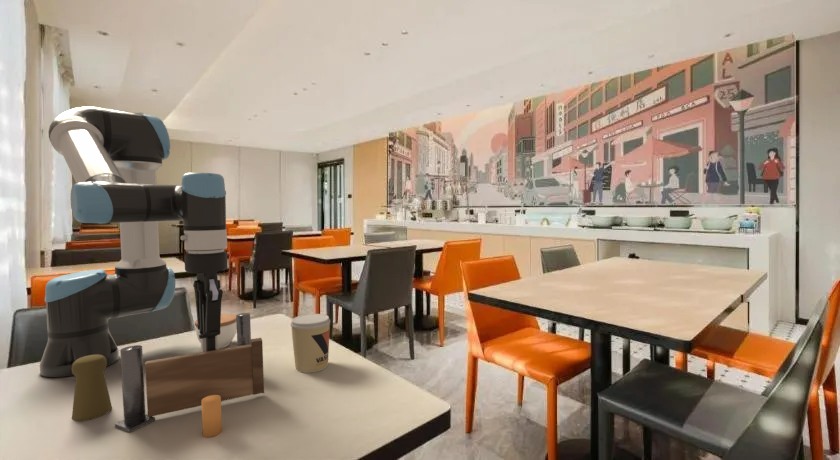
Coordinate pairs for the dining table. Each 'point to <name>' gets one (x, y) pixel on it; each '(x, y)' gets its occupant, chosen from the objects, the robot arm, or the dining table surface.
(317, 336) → the coffee cup
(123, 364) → the gate frame
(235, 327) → the lidded jar
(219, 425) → the post
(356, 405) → the dining table surface
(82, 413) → the cork
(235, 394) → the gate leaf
